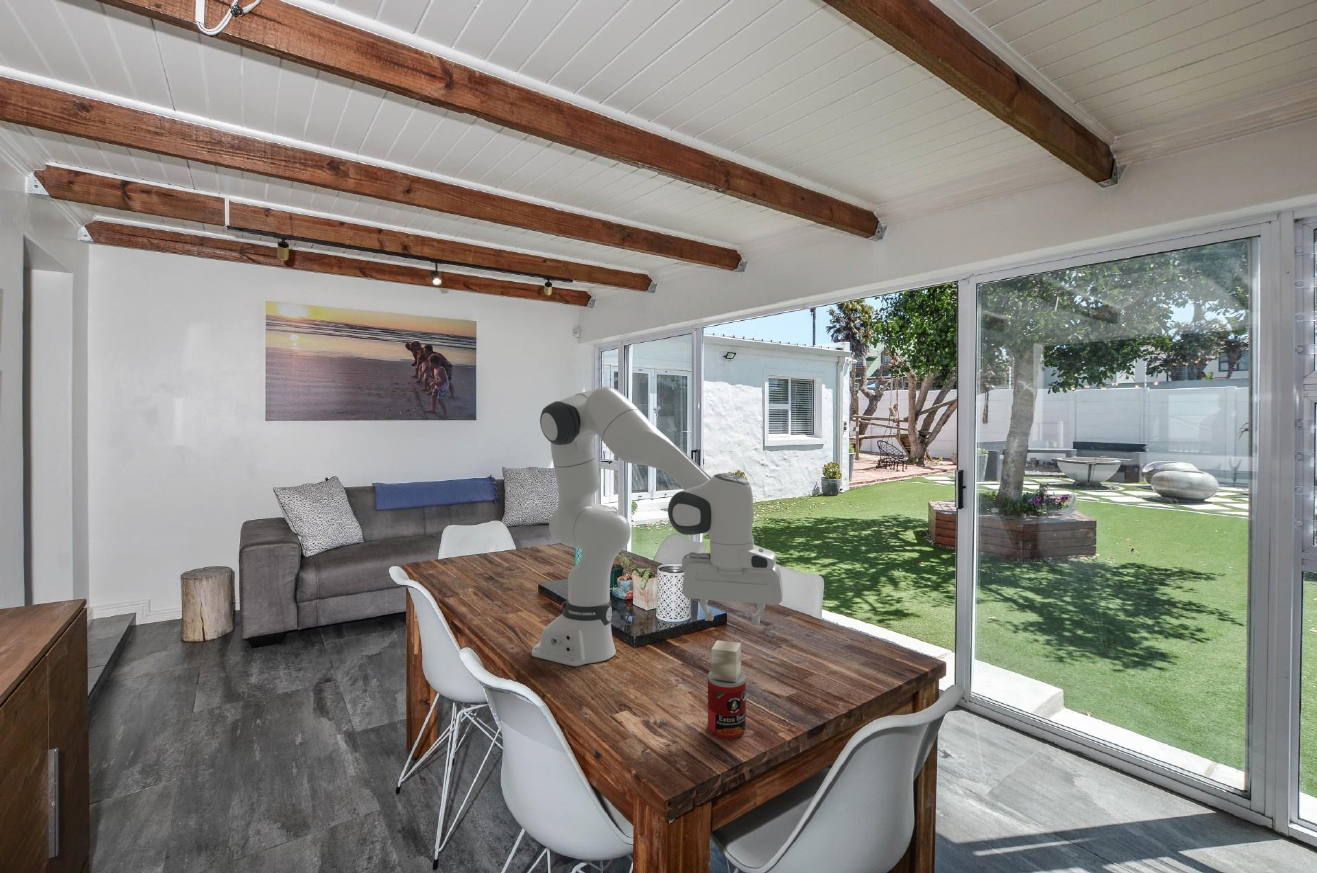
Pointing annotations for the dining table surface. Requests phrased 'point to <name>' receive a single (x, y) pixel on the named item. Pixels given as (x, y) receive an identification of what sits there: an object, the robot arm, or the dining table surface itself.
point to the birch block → (726, 661)
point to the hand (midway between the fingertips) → (732, 622)
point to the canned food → (727, 707)
